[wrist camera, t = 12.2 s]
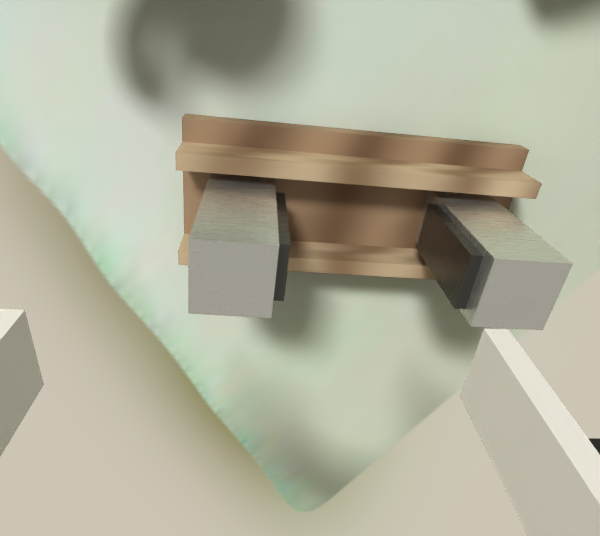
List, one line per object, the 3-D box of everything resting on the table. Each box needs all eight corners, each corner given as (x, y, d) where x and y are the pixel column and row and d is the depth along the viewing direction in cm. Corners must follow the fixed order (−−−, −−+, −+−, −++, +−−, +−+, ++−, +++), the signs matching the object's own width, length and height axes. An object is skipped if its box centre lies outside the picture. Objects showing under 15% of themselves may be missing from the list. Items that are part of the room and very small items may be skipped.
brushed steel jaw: (284, 176, 29) (292, 246, 21) (278, 232, 31) (283, 319, 22) (211, 169, 29) (188, 238, 20) (210, 227, 31) (188, 313, 22)
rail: (520, 145, 30) (550, 161, 27) (476, 273, 35) (497, 300, 32) (184, 113, 28) (174, 127, 25) (187, 256, 33) (179, 283, 30)
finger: (485, 191, 31) (572, 263, 22) (468, 244, 33) (542, 330, 24) (420, 186, 30) (482, 258, 22) (406, 240, 32) (459, 326, 23)
